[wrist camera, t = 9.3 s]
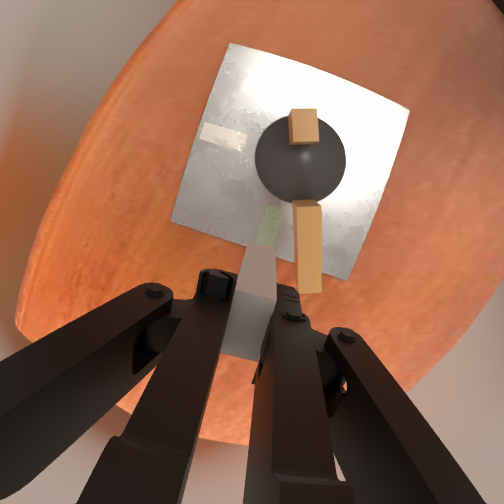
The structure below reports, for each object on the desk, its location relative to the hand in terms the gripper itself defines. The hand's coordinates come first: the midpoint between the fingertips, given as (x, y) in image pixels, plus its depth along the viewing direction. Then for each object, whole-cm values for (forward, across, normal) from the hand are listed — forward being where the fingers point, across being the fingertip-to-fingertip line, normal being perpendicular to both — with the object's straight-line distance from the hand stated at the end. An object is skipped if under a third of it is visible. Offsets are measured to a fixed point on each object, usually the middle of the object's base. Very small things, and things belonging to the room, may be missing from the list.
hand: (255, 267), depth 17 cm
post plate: (+20, +2, +6) cm, 21 cm away
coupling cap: (+14, +3, +3) cm, 14 cm away
